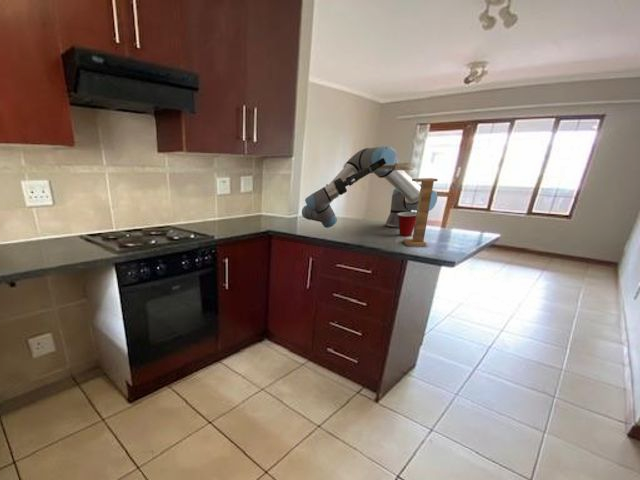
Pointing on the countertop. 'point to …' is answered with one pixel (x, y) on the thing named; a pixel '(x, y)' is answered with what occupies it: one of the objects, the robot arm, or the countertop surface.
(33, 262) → the countertop surface
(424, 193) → the stand
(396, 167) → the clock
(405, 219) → the plastic cup
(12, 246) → the countertop surface
